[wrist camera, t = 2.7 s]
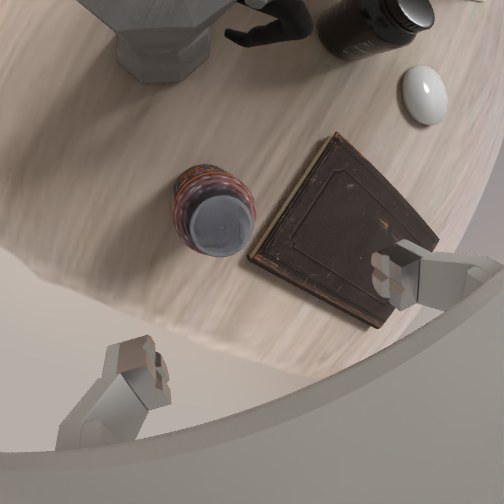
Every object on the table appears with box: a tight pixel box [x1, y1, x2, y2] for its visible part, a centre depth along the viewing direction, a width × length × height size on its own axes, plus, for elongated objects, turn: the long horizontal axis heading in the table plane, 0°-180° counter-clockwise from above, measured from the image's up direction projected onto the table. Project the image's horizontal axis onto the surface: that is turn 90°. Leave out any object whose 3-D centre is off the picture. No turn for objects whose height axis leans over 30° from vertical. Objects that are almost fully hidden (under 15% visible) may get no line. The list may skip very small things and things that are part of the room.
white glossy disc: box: [402, 66, 447, 125], centre depth 30 cm, size 8×8×1 cm
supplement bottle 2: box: [318, 0, 435, 61], centre depth 20 cm, size 7×7×12 cm
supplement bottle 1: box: [173, 164, 256, 257], centre depth 23 cm, size 6×6×11 cm
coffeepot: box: [77, 0, 313, 84], centre depth 14 cm, size 15×9×18 cm, turn 66°
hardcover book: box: [247, 132, 440, 329], centre depth 35 cm, size 16×23×2 cm
